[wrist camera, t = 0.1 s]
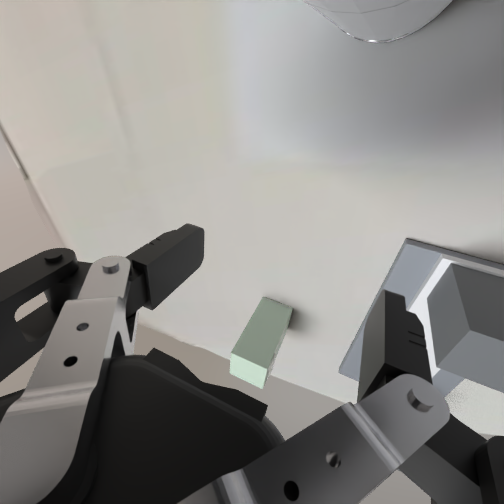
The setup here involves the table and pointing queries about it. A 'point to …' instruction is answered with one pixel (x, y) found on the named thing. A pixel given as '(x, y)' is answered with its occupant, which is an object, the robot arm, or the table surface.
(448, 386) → the rail board
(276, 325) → the block
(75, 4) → the table surface
